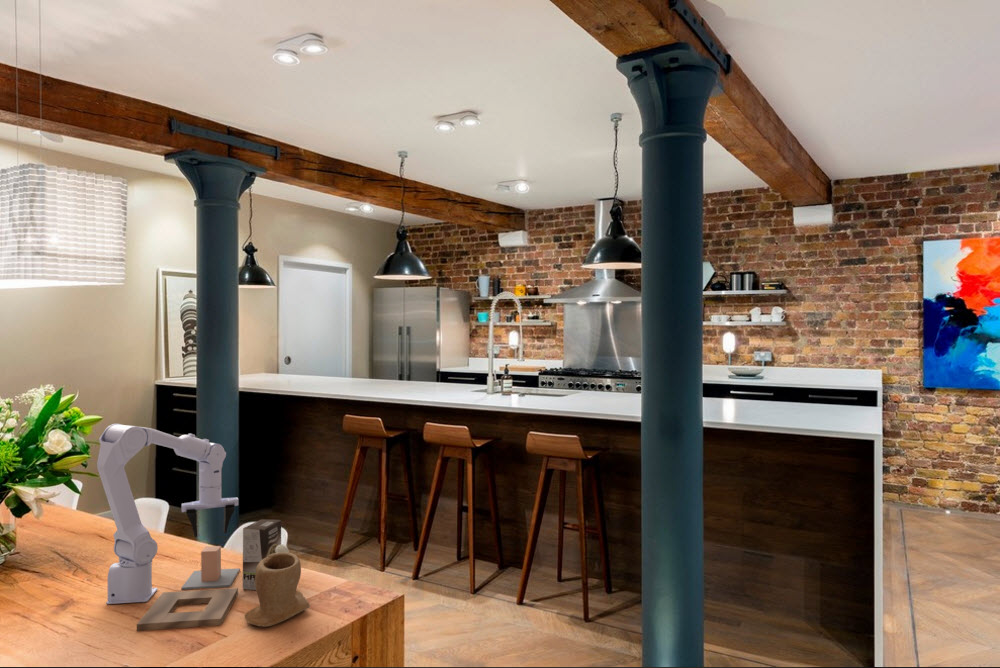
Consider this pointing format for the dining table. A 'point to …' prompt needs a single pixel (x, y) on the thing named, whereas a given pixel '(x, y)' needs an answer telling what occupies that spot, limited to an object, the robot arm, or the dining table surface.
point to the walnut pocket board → (168, 601)
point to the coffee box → (258, 547)
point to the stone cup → (277, 590)
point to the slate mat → (223, 581)
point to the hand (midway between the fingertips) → (210, 533)
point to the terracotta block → (211, 563)
